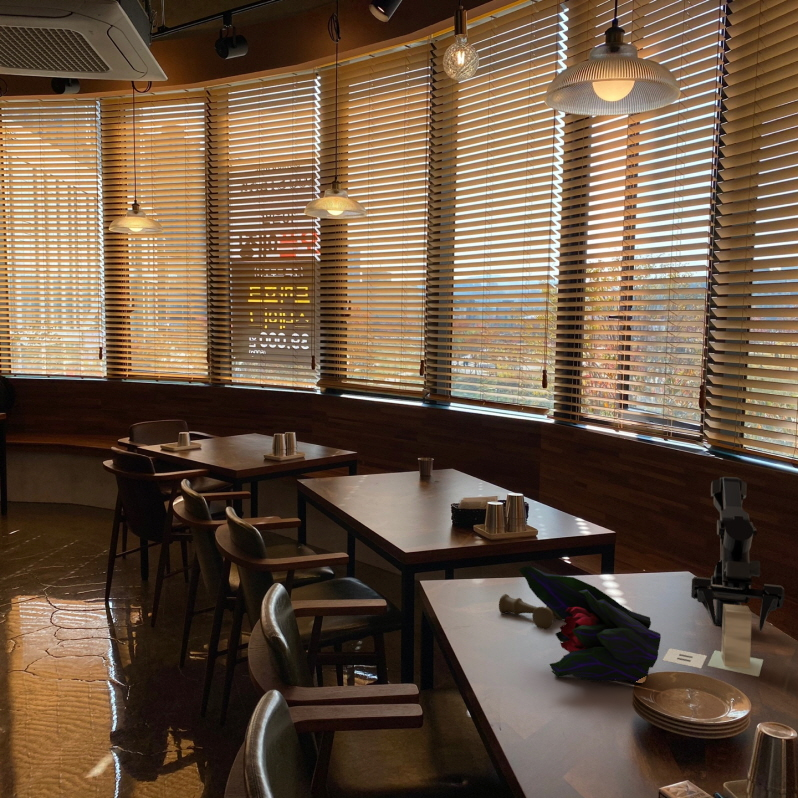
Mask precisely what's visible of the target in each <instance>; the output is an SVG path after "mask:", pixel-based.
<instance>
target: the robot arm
mask: <svg viewBox="0 0 798 798" xmlns="http://www.w3.org/2000/svg"><path fill="white" fill-rule="evenodd" d="M710 497H713V506H714V507H715V508H716V509H717V511H718V512H719V519H717V521H716V534H717V536H719V539H720V543H719V544H720V547H719V548H720V560H719V561H717V563H716V565H715V566H714V567H715V568H714V574H713V575H711V578H710V577H701V576H694V577H692V578H691V588H690V589H691V593H690V594H691V595H690V597H691V598H692V599H694V600H696V601H697V602H698V603H702V605H703V607H704V609H706V611H707V614H708V616H709V618H710V621H711V623H712V625H713V626H722V621H723V604H731V605H742V603H743V604H748V603H749V602H751V599H759V600H761V606H760V615H759V621H758V622H759V623H758V628H759V629H758V630H759V632H762V631H763V628H764V625H765V623H766V620H767V618H768V616H769V614H770V612H776V610H777V609H781V608H783V605H784V602H785V597H786V596H785V595H786V594H785V588H784V587H783V586H782V585H779V584H778V585H777V584H767V583H764V584H763V588H762V589H758V588H752V585H753V584H752V583H753V582H752V581H753V580H752V579H753V577H756V578H757V577H758V578H759V577H760V575H761V562H760V560H750V549H751V546H752V542H753V541H752V540H753V539H754V538H755V536H757V533H758V530H757V528H756V526H754V523H753V522H752V521H750V514H749V513H748V512H746V511H745V510H744V509H743V500H744V499H746V497H747V482H745V481H743V480H742V478H739V477H733V476H723V477H719V478H718V479H715V480H712V481H711V484H710ZM714 601H716V602H715V604H714Z"/></svg>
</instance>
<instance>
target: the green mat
mask: <svg viewBox="0 0 798 798" xmlns="http://www.w3.org/2000/svg"><path fill="white" fill-rule="evenodd" d="M763 663H764V659H763V658H756V657H752V656H750V668H741V667H732V666H724V663H723V660H722V657H721V651H720V650H714V651H713V653H712V655H711V657H710V660H709V662H708V663H707V667H710V668H715V669H719V670H720V669H721V670H725V671H728V672H729V671H730V672H735V673H738V674H745V675H750V676H753V677H759V676H760V673H761V670H762V666H763Z"/></svg>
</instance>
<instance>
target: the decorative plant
mask: <svg viewBox="0 0 798 798" xmlns="http://www.w3.org/2000/svg"><path fill="white" fill-rule="evenodd" d="M518 571H519V572H520V573H521V575H522V576H523V578H525V581H526V583H527V585H528V587H529V589H530V590H531V591H532V593H533V594H534V595H535V596H536V598H537V599H538V600H540V601H541V602H542V603H543V604H544V605H545V606H547V607H549V608H550V609H551V610H552V611H553V612H554V613H555V614H556V615H557V616H558V617H560V618H562V620H563V622H564V623H565V624H563V625H561V626H559V629H560V631H558V632H555V636H556V638H557V639H558V640H559V642H560V643H559V644H560V646H561V648H562V649H564V650H566V651H567V652H568V653H566V654H565V655H563V657H562V658H561V659H560V660H557V661H556V662H552V663H549V666H550V668H551V672H552V674H553V675H555V676H556V677H557V678H561V677H564V676H565V677H566V676H571V675H572V676H574V677H575V678H577V679H579V680H582V681H590V682H591V681H592V682H609V681H610V682H614V681H616V682H617V681H628V682H630V683H634V684H636V683H635V682H636V681H638V680H639V679H641V678H643V677H645V676H647V677H648V676H649V671H650V669H651V668H652V669H653V668H654V666H655V664H656V663H657V660H658V658H659V650H660V644H661V638H662V636H661V633H660V632H657V631H655V630H652V629H650V627H651V624H652V621H651V617H650V616H647V615H644V614H640V613H637V612H634V611H631V610H630V609H628V608H627V607H625V606H624V605H622V604H620V603H619V602H617V601H616V599H613V598H612V597H611V596H610V595H608V594H606V593H605V592H603V591H602V590H600V589H599V588H597V587H595V586H594V585H592V584H590V583H588V582H585V581H583V580H581V579H579V578H576V577H575V576H565V575H559V574H551V573H546V572H544V571H542V570H539V569H538V568H536V567H533V566H531V565H526V566H524V567H520V568H519V569H518Z"/></svg>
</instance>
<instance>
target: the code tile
mask: <svg viewBox="0 0 798 798" xmlns="http://www.w3.org/2000/svg"><path fill="white" fill-rule="evenodd" d="M707 657H708V655H705V654H700V653H695V652H690V651H685V650H681V649H676V648H675V649H674V648H668V650H667V652H666V653H665V655H664V657H663V659H662V661H664V662H669V663H673V664H678V665H682V666H689V667H692V668H693V667H694V668H698V669H702V667H703V666H704V663H705V661H706V659H707Z"/></svg>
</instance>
